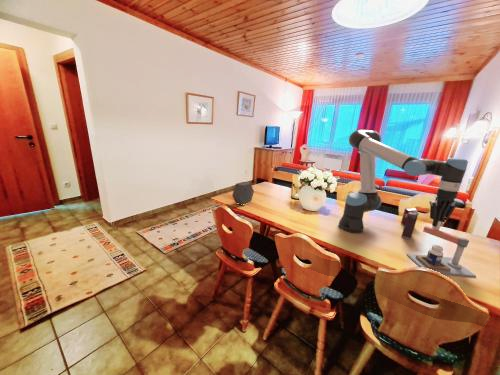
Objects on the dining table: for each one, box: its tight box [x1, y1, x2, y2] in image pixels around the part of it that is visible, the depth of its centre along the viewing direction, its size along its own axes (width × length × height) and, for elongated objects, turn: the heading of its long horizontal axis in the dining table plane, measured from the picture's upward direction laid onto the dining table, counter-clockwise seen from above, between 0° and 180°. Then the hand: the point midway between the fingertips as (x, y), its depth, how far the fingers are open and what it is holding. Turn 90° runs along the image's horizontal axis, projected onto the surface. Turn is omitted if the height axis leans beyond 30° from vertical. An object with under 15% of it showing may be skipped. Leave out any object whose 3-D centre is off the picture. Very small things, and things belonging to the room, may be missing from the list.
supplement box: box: [401, 211, 419, 240], centre depth 129 cm, size 9×5×16 cm, turn 137°
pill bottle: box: [425, 244, 444, 266], centre depth 101 cm, size 5×5×10 cm
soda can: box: [400, 207, 419, 227], centre depth 146 cm, size 7×7×12 cm
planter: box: [231, 181, 255, 206], centre depth 171 cm, size 17×8×21 cm
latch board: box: [406, 245, 477, 278], centre depth 101 cm, size 22×14×12 cm, turn 85°
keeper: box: [422, 225, 470, 248], centre depth 104 cm, size 4×17×3 cm, turn 29°
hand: (434, 231), depth 110 cm, fingers closed
